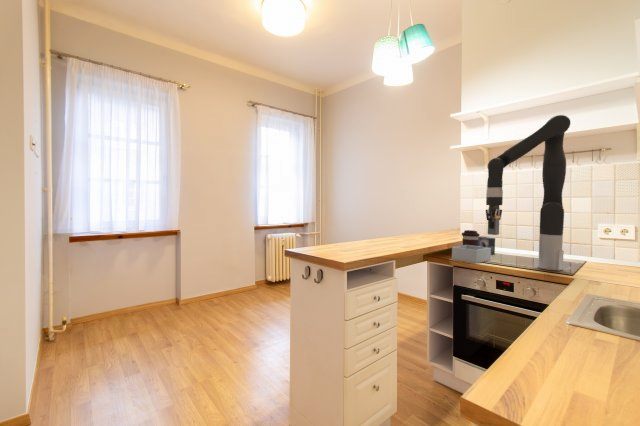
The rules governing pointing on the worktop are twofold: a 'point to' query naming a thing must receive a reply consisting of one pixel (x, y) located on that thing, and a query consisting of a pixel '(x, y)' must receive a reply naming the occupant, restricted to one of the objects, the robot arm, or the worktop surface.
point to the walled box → (471, 253)
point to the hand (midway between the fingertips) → (493, 228)
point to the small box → (487, 243)
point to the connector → (496, 226)
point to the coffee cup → (470, 237)
